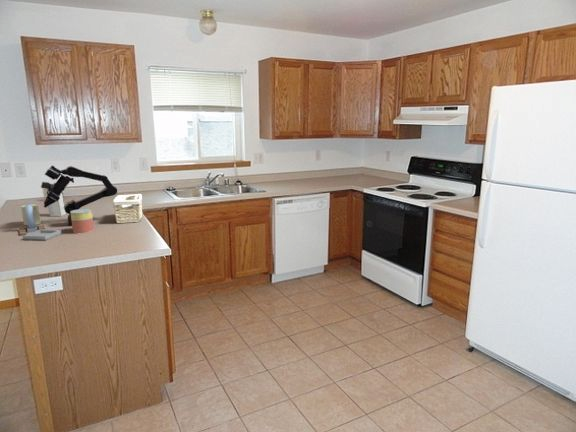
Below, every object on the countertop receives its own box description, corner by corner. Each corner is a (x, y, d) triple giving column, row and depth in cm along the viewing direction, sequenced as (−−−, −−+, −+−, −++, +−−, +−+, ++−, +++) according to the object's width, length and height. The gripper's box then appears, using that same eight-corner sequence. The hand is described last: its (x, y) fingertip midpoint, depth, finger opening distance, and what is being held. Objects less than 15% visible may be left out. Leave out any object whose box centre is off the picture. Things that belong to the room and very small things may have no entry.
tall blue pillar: (27, 229, 235) (23, 205, 232) (37, 228, 238) (33, 204, 234) (27, 232, 230) (23, 207, 226) (37, 231, 232) (33, 206, 229)
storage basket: (118, 216, 268) (116, 194, 265) (144, 214, 273) (142, 193, 269) (114, 224, 246) (111, 201, 243) (142, 222, 250) (140, 199, 247)
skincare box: (66, 214, 274) (63, 193, 270) (61, 216, 268) (58, 194, 264) (53, 214, 274) (50, 193, 270) (48, 216, 268) (45, 194, 264)
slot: (19, 230, 235) (19, 228, 235) (44, 226, 242) (43, 225, 241) (20, 235, 223) (19, 233, 223) (45, 232, 230) (45, 230, 230)
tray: (61, 233, 226) (61, 230, 225) (45, 240, 213) (45, 236, 213) (40, 233, 227) (40, 229, 227) (23, 240, 215) (22, 235, 214)
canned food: (98, 229, 235) (96, 209, 232) (82, 234, 225) (79, 213, 222) (85, 227, 239) (82, 208, 237) (68, 232, 229) (65, 212, 227)
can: (37, 221, 256) (34, 202, 253) (43, 223, 250) (40, 204, 247) (21, 223, 249) (18, 205, 246) (26, 226, 243) (23, 207, 240)
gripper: (47, 174, 241) (31, 195, 239) (48, 178, 226) (30, 200, 224) (65, 185, 247) (49, 205, 245) (66, 189, 232) (49, 211, 230)
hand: (44, 205), depth 236 cm, fingers open, 9 cm apart
